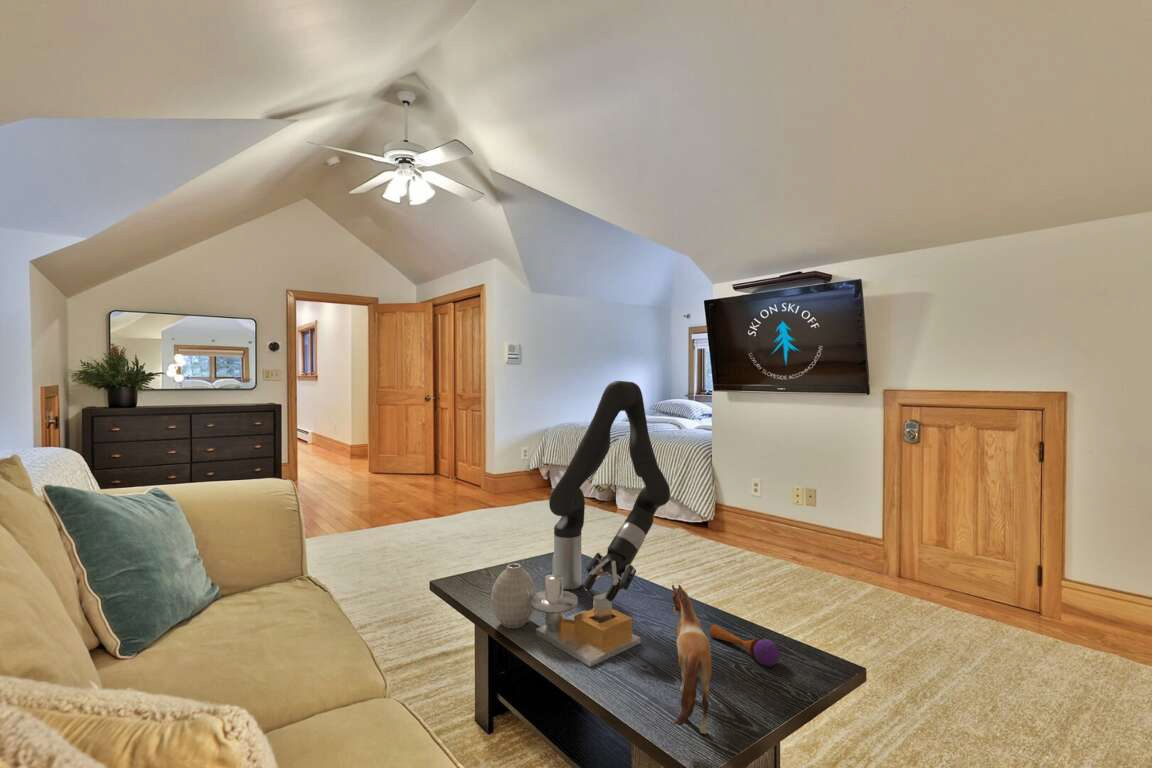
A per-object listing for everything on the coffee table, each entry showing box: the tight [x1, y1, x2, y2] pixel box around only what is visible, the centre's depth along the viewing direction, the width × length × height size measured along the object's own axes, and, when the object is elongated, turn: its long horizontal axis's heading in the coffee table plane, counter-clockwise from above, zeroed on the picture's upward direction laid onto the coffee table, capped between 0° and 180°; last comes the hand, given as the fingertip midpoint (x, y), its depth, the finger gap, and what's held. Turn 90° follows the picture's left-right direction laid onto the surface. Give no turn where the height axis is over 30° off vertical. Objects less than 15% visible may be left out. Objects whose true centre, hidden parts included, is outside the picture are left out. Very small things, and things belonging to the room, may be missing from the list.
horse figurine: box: [671, 584, 712, 735], centre depth 117 cm, size 31×8×21 cm, turn 170°
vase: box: [490, 563, 537, 630], centre depth 155 cm, size 13×13×17 cm
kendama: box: [709, 624, 781, 667], centre depth 140 cm, size 6×6×20 cm
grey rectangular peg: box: [592, 592, 613, 623], centre depth 146 cm, size 2×4×10 cm, turn 124°
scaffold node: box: [530, 573, 641, 668], centre depth 147 cm, size 26×20×16 cm
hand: (596, 594), depth 144 cm, fingers open, 8 cm apart
